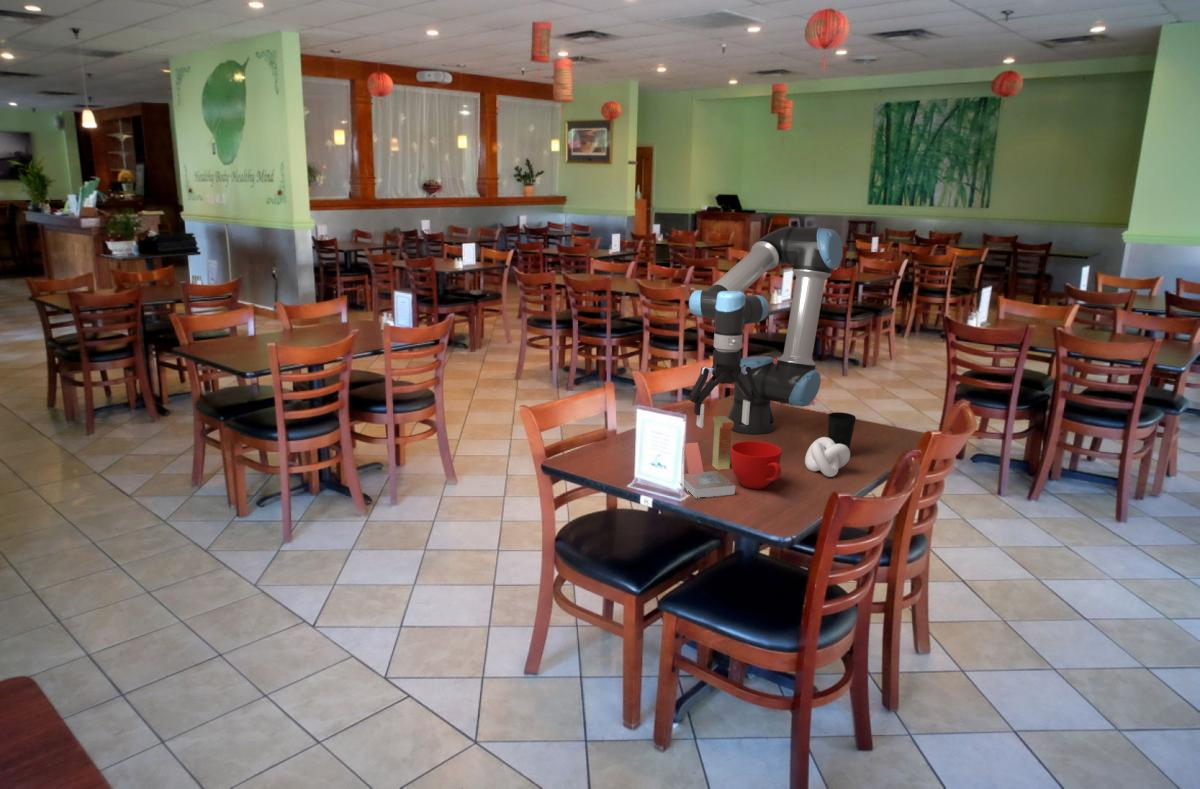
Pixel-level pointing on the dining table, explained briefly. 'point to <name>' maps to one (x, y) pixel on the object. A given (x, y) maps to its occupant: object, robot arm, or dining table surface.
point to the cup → (841, 427)
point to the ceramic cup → (755, 463)
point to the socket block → (708, 484)
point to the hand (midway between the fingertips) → (722, 425)
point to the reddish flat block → (693, 458)
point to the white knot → (826, 456)
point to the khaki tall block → (722, 442)
